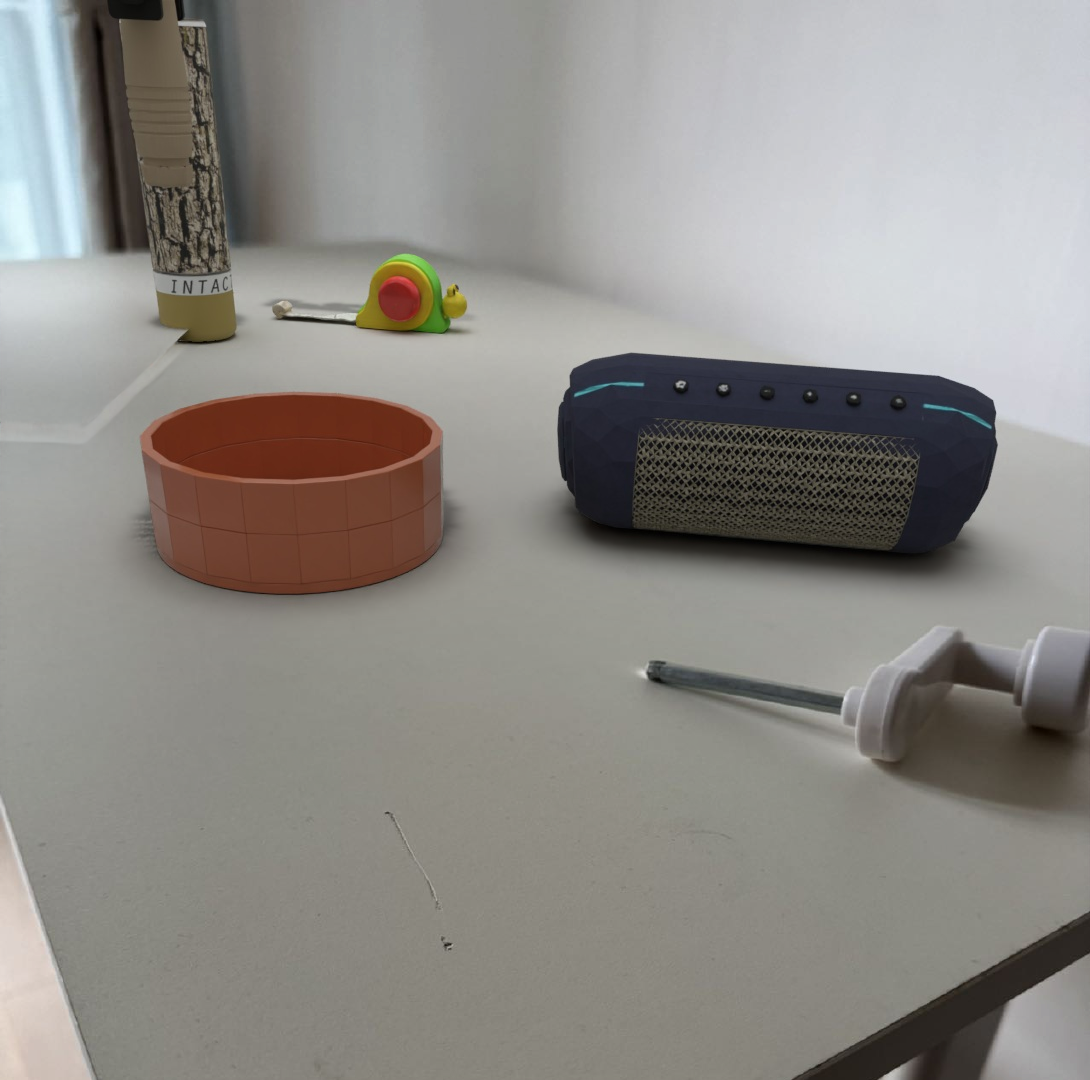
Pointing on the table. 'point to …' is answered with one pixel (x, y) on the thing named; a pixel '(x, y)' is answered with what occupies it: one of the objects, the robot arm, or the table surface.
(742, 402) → the portable speaker
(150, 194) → the paper tube
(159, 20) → the robot arm
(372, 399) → the bowl
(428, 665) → the table surface
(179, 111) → the handle
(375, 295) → the toy measuring tape
